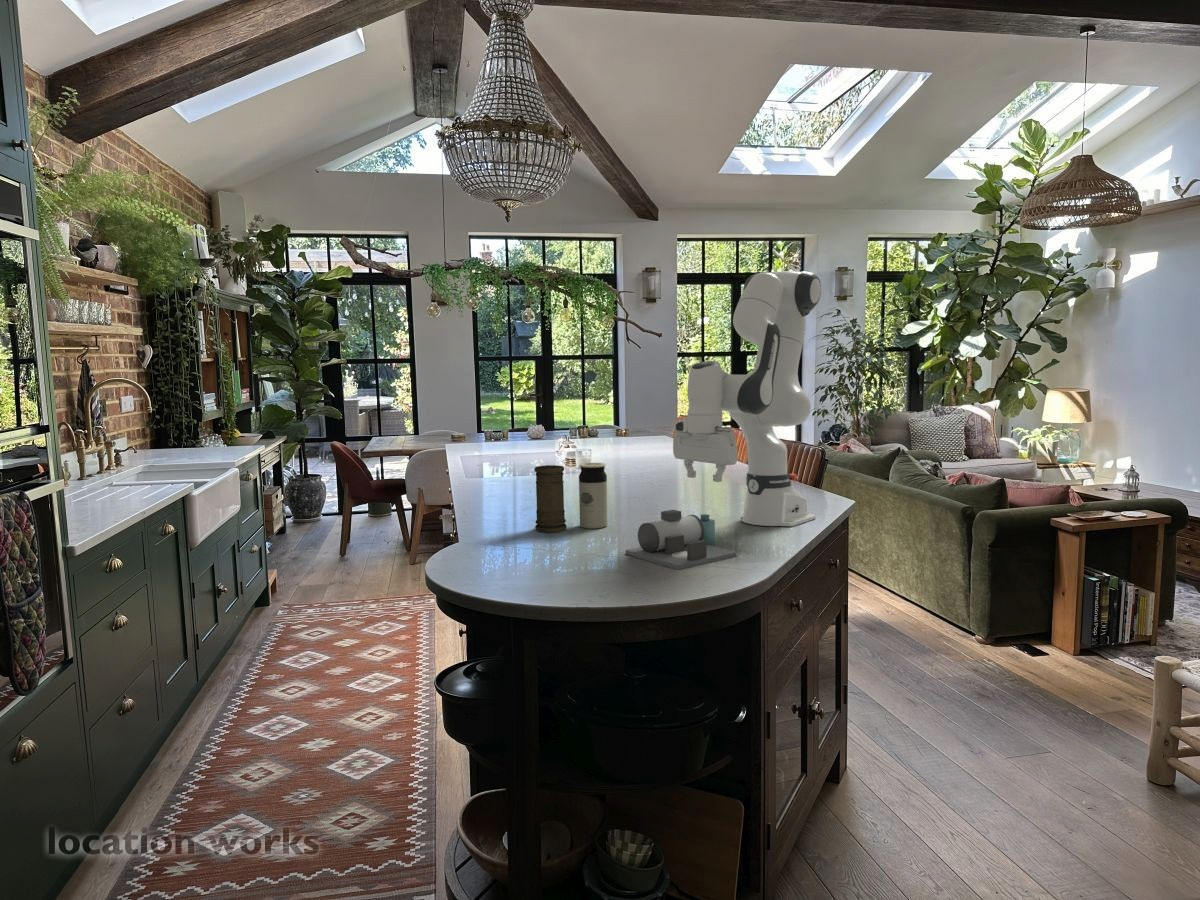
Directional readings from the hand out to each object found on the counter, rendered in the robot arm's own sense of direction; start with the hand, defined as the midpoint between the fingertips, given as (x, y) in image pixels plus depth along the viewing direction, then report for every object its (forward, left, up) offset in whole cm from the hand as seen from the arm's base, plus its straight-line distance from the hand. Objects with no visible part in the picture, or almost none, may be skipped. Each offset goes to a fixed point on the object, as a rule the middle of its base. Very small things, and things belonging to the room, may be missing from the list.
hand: (704, 479), depth 201 cm
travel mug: (+9, -36, -17) cm, 41 cm away
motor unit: (+13, +5, -17) cm, 22 cm away
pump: (0, 0, -17) cm, 17 cm away
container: (+21, -40, -17) cm, 48 cm away
